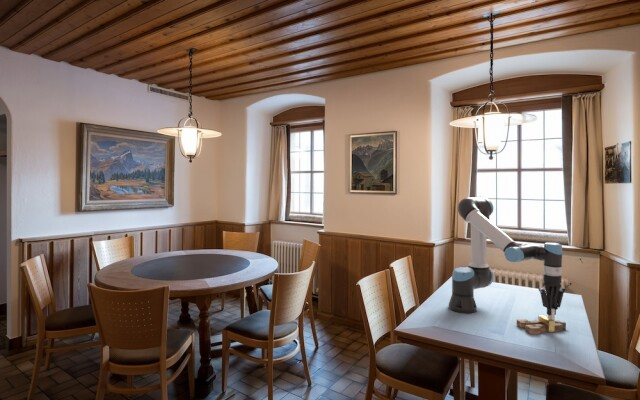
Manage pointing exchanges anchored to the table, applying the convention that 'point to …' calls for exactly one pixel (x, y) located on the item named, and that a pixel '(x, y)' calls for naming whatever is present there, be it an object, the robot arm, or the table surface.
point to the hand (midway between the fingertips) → (551, 321)
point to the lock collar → (547, 323)
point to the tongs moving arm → (524, 322)
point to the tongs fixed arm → (541, 328)
